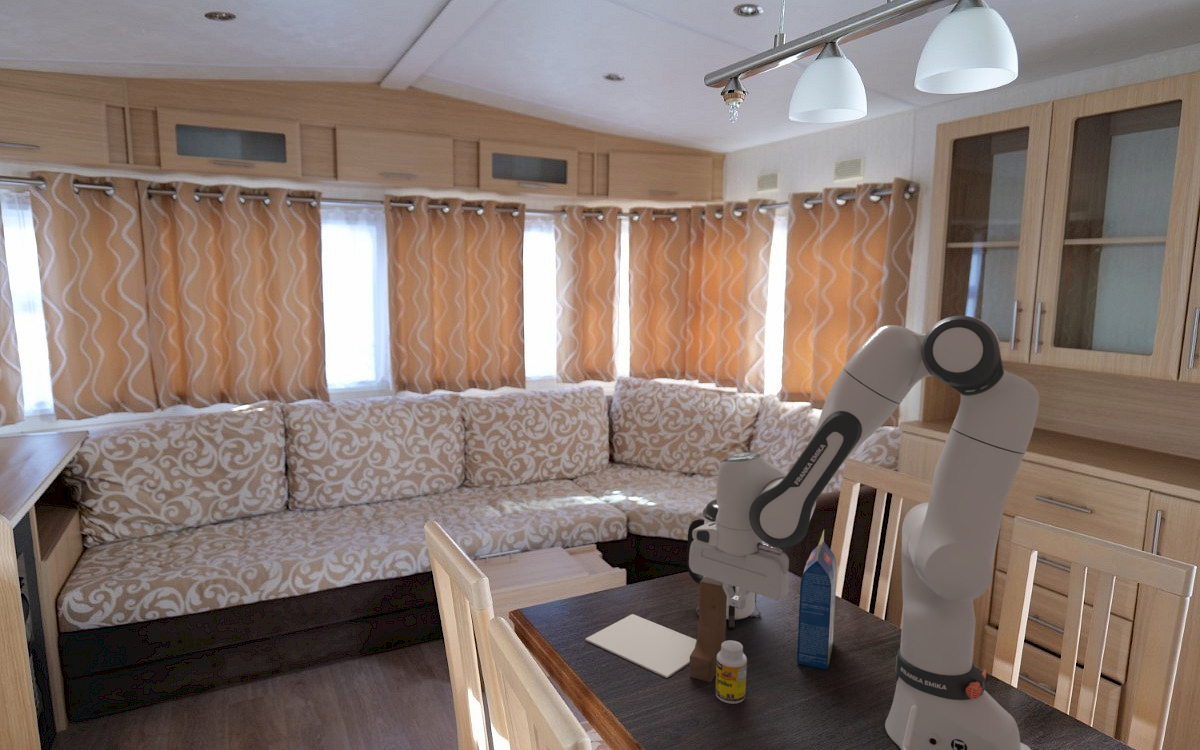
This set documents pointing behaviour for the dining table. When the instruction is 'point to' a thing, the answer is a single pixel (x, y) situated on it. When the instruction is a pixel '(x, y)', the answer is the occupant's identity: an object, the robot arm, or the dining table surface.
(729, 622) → the coffee press
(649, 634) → the mat
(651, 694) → the dining table surface
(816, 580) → the blue food package
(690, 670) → the wooden block
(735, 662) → the supplement bottle
